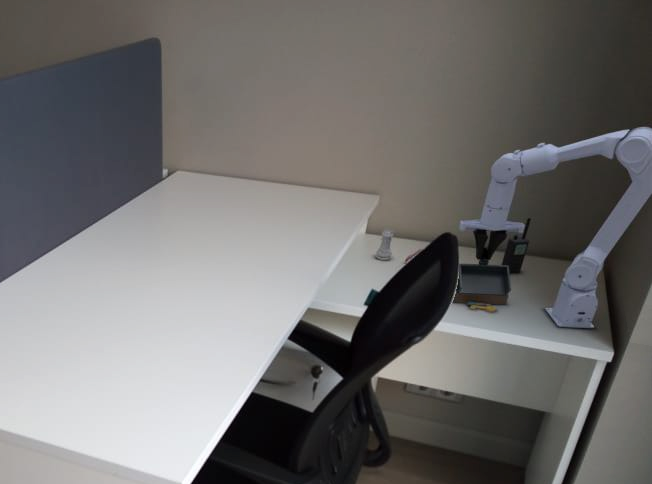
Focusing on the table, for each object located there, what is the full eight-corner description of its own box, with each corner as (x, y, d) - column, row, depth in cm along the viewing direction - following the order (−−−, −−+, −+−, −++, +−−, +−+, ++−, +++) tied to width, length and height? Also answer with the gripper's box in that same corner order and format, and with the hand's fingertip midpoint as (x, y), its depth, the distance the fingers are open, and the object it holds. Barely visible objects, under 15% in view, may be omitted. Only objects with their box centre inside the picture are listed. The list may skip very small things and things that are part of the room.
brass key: (495, 310, 178) (494, 312, 179) (495, 306, 180) (494, 308, 180) (470, 307, 180) (470, 309, 181) (470, 303, 182) (470, 305, 182)
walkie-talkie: (505, 274, 198) (521, 221, 190) (498, 269, 201) (513, 216, 193) (521, 272, 199) (537, 219, 191) (514, 267, 202) (530, 215, 193)
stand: (505, 304, 182) (508, 295, 181) (451, 302, 184) (454, 293, 183) (496, 291, 189) (499, 283, 187) (444, 289, 190) (447, 280, 189)
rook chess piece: (372, 255, 210) (377, 228, 206) (387, 254, 211) (392, 228, 206) (378, 261, 207) (383, 234, 202) (393, 260, 207) (399, 233, 203)
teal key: (469, 304, 181) (469, 302, 181) (465, 303, 183) (466, 301, 183) (490, 306, 181) (491, 304, 180) (487, 305, 183) (487, 303, 182)
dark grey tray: (506, 295, 181) (513, 287, 177) (456, 293, 182) (462, 285, 178) (502, 256, 185) (509, 247, 181) (453, 255, 186) (459, 246, 183)
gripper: (523, 201, 177) (508, 253, 185) (461, 199, 179) (449, 251, 186) (533, 210, 171) (517, 264, 179) (469, 208, 173) (455, 261, 181)
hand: (482, 258), depth 182 cm, fingers closed on dark grey tray, 2 cm apart
